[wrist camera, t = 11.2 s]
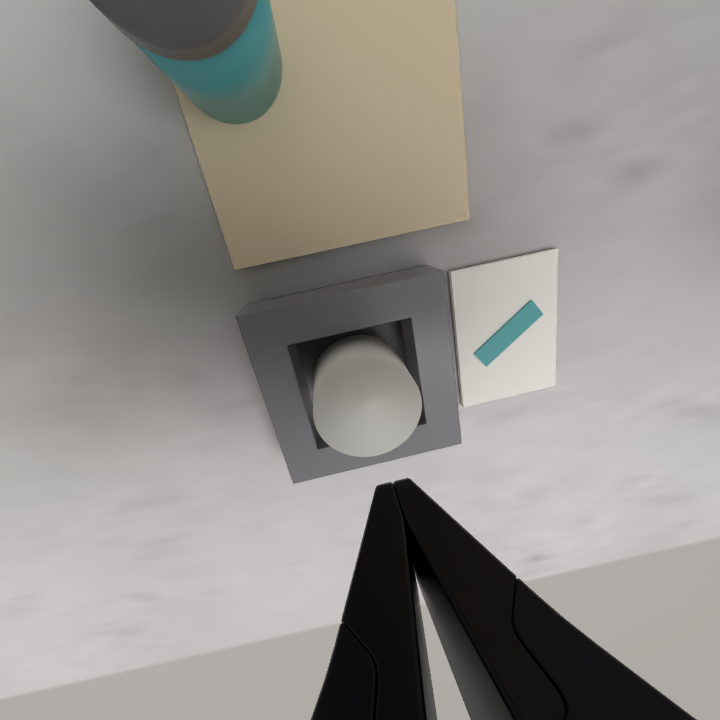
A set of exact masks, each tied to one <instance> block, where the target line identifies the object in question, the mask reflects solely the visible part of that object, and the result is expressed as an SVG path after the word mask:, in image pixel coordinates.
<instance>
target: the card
mask: <svg viewBox="0 0 720 720" xmlns="http://www.w3.org/2000/svg"><path fill="white" fill-rule="evenodd" d="M448 272H449V283H450V293H451V304H452V314H453V324H454V335H455V345H456V356H457V366H458V377H459V387H460V398H461V405H462V406H463V407H468V406H472V405H476V404H480V403H485V402H489V401H493V400H497V399H502V398H506V397H510V396H514V395H519V394H523V393H527V392H531V391H535V390H540V389H544V388H548V387H552V386H555V372H556V330H557V289H558V248H553V249H548V250H543V251H539V252H534V253H530V254H525V255H521V256H516V257H512V258H507V259H503V260H498V261H494V262H489V263H484V264H480V265H475V266H471V267H466V268H462V269H457V270H453V271H448Z"/></svg>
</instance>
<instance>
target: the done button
mask: <svg viewBox="0 0 720 720" xmlns="http://www.w3.org/2000/svg"><path fill="white" fill-rule="evenodd" d="M421 411H422V398H421V394H420V391H419V388H418V386H417V384H416V382H415V381H414V379H413V378H412V376H411V375H410V373H409V371H408V370H407V368H406V367H405V365H404V364H403V362H402V361H401V359H400V357H399V356H398V354H397V353H396V352H395V350H394V349H393V348H392V347H391V346H390V345H389V344H388V343H386V342H385V341H383V340H381V339H379V338H376V337H374V336H369V335H352V336H348V337H344V338H342V339H340V340H337V341H336V342H334V343H333V344H331V345H330V346H329V347H328V348H327V349H326V350H325V351H324V352H323V353H322V354H321V356H320V358H319V359H318V361H317V364H316V366H315V370H314V385H313V419H314V424H315V427H316V429H317V431H318V433H319V435H320V436H321V438H322V439H323V440H324V441H325V442H326V443H327V444H328V445H329V446H331V447H332V448H333V449H335V450H337V451H339V452H341V453H343V454H346V455H350V456H356V457H372V456H377V455H381V454H384V453H387V452H389V451H391V450H393V449H395V448H397V447H398V446H399V445H401V444H402V443H403V442H404V441H406V440H407V439H408V438H409V436H410V435H411V434H412V433H413V431H414V430H415V428H416V426H417V424H418V422H419V419H420V416H421Z"/></svg>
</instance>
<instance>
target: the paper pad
mask: <svg viewBox="0 0 720 720" xmlns="http://www.w3.org/2000/svg"><path fill="white" fill-rule="evenodd" d="M270 3H271V8H272V13H273V18H274V23H275V28H276V32H277V37H278V42H279V47H280V52H281V58H282V80H281V86H280V89H279V93H278V95H277V97H276V100H275V101H274V103H273V105H272V106H271V107H270V109H269V110H268V111H267V112H266V113H265V114H264V115H262V116H261V117H260V118H258V119H256V120H254V121H252V122H249V123H245V124H228V123H224V122H221V121H218V120H216V119H213V118H211V117H210V116H208V115H207V114H205V113H204V112H202V111H201V110H200V109H199V108H198V107H197V106H196V105H195V104H194V103H193V102H192V101H191V100H190V99H189V98H188V97H187V96H186V95H185V94H184V93H183V92H182V91H181V90H180V89H179V88H178V87H177V86H176V85H175V84H174V83H173V84H174V87H175V91H176V94H177V97H178V100H179V103H180V106H181V109H182V112H183V115H184V118H185V121H186V124H187V127H188V130H189V133H190V136H191V139H192V142H193V145H194V148H195V151H196V154H197V157H198V160H199V164H200V167H201V170H202V173H203V176H204V179H205V182H206V185H207V188H208V191H209V194H210V197H211V200H212V203H213V206H214V209H215V212H216V215H217V218H218V221H219V224H220V227H221V230H222V233H223V236H224V240H225V243H226V246H227V249H228V252H229V255H230V258H231V261H232V264H233V267H234V270H238V269H243V268H247V267H252V266H256V265H261V264H266V263H270V262H275V261H280V260H284V259H289V258H294V257H298V256H303V255H308V254H312V253H317V252H322V251H326V250H331V249H335V248H340V247H345V246H349V245H354V244H359V243H363V242H368V241H373V240H377V239H382V238H387V237H391V236H396V235H401V234H405V233H410V232H414V231H419V230H424V229H428V228H433V227H438V226H442V225H447V224H452V223H456V222H461V221H466V220H470V208H469V193H468V178H467V164H466V149H465V134H464V119H463V105H462V90H461V75H460V60H459V46H458V31H457V16H456V1H455V0H270Z"/></svg>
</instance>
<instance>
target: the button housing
mask: <svg viewBox="0 0 720 720" xmlns="http://www.w3.org/2000/svg"><path fill="white" fill-rule="evenodd" d="M236 319H237V322H238V325H239V328H240V331H241V334H242V337H243V340H244V342H245V345H246V348H247V351H248V354H249V357H250V360H251V363H252V366H253V368H254V371H255V374H256V377H257V380H258V383H259V386H260V389H261V392H262V395H263V397H264V400H265V403H266V406H267V409H268V412H269V415H270V418H271V421H272V424H273V426H274V429H275V432H276V435H277V438H278V441H279V444H280V447H281V450H282V452H283V455H284V458H285V461H286V464H287V467H288V470H289V473H290V476H291V479H292V481H293V484H295V483H299V482H303V481H307V480H311V479H315V478H320V477H324V476H328V475H332V474H336V473H340V472H345V471H349V470H353V469H357V468H361V467H365V466H370V465H374V464H378V463H382V462H386V461H390V460H395V459H399V458H403V457H407V456H411V455H415V454H420V453H424V452H428V451H432V450H436V449H440V448H445V447H449V446H453V445H457V444H461V443H462V442H461V432H460V422H459V412H458V402H457V392H456V382H455V372H454V362H453V352H452V342H451V332H450V322H449V312H448V302H447V292H446V282H445V272H444V271H443V270H440V269H437V268H434V267H431V266H427V265H423V266H418V267H414V268H409V269H405V270H400V271H396V272H391V273H387V274H382V275H377V276H373V277H368V278H364V279H359V280H355V281H350V282H345V283H341V284H336V285H332V286H327V287H323V288H318V289H314V290H309V291H304V292H300V293H295V294H291V295H286V296H282V297H277V298H273V299H268V300H263V301H259V302H254V303H250V304H247V306H246V307H245V308H244V309H243V310H242V311H241V312H240V313H239V314H238V315H237V316H236ZM398 320H400V321H401V327H402V334H403V340H404V346H405V353H406V359H407V366H408V371H409V373H410V375H411V376H412V378H413V379H414V381H415V382H416V384H417V386H418V388H419V391H420V394H421V398H422V411H421V416H420V419H419V422H418V424H417V426H416V428H415V430H414V431H413V433H412V434H411V435H410V436H409V438H408V439H407V440H406V441H404V442H403V443H402V444H401V445H399V446H398V447H397V448H395V449H393V450H391V451H389V452H387V453H384V454H381V455H377V456H372V457H356V456H350V455H346V454H343V453H341V452H339V451H337V450H335V449H333V448H332V447H331V446H329V445H328V444H327V443H326V442H325V441H324V440H323V439H322V438H321V436H320V435H319V433H318V431H317V429H316V427H315V424H314V419H313V404H312V400H311V397H310V393H309V390H308V386H307V383H306V379H305V376H304V372H303V369H302V365H301V362H300V358H299V355H298V351H297V348H296V344H295V343H300V342H304V341H309V340H313V339H318V338H322V337H326V336H331V335H335V334H340V333H344V332H349V331H353V330H358V329H362V328H366V327H371V326H375V325H380V324H384V323H389V322H393V321H398Z"/></svg>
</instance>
